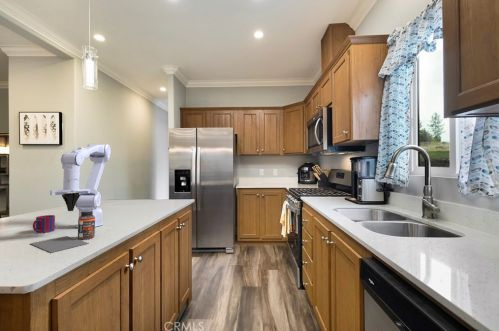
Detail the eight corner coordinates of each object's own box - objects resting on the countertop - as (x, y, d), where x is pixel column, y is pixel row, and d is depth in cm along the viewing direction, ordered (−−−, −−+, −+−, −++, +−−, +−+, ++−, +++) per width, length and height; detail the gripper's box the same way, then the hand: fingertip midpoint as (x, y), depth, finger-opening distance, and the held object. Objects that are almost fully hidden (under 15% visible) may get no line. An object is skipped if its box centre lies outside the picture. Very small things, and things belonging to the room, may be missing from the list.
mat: (66, 236, 103) (66, 235, 103) (88, 243, 94) (88, 243, 94) (30, 244, 93) (30, 243, 93) (50, 253, 83) (50, 252, 83)
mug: (58, 229, 114) (58, 215, 114) (39, 235, 104) (39, 219, 104) (44, 229, 115) (45, 214, 115) (24, 235, 105) (24, 219, 105)
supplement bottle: (81, 241, 97) (82, 212, 97) (74, 238, 100) (75, 211, 100) (97, 237, 102) (98, 210, 102) (90, 235, 105) (91, 209, 106)
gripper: (55, 180, 98) (54, 213, 98) (93, 179, 111) (93, 209, 110) (48, 179, 102) (47, 212, 101) (86, 179, 114) (85, 208, 114)
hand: (70, 210), depth 106 cm, fingers closed
